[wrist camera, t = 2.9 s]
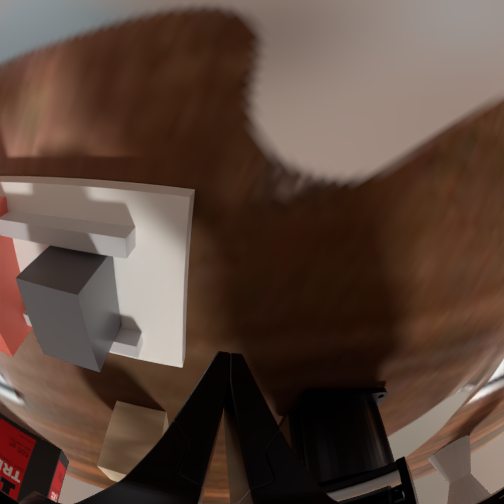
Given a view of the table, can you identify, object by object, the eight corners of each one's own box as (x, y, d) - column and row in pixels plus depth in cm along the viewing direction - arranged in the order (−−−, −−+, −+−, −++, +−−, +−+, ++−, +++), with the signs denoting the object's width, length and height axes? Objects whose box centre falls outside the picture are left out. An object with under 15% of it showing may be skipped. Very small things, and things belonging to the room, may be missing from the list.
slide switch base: (195, 189, 10) (167, 233, 7) (185, 353, 14) (173, 415, 11) (-49, 176, 9) (-90, 200, 5) (-22, 293, 13) (-50, 325, 9)
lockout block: (166, 411, 18) (153, 481, 12) (169, 432, 20) (160, 492, 14) (116, 400, 17) (97, 465, 12) (125, 422, 19) (111, 479, 14)
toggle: (112, 250, 10) (77, 294, 8) (121, 324, 12) (99, 372, 9) (55, 240, 10) (15, 277, 7) (70, 312, 12) (43, 353, 9)
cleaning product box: (61, 449, 28) (37, 543, 10) (68, 461, 32) (49, 542, 14) (-14, 402, 25) (-48, 484, 7) (0, 421, 28) (-27, 494, 11)
